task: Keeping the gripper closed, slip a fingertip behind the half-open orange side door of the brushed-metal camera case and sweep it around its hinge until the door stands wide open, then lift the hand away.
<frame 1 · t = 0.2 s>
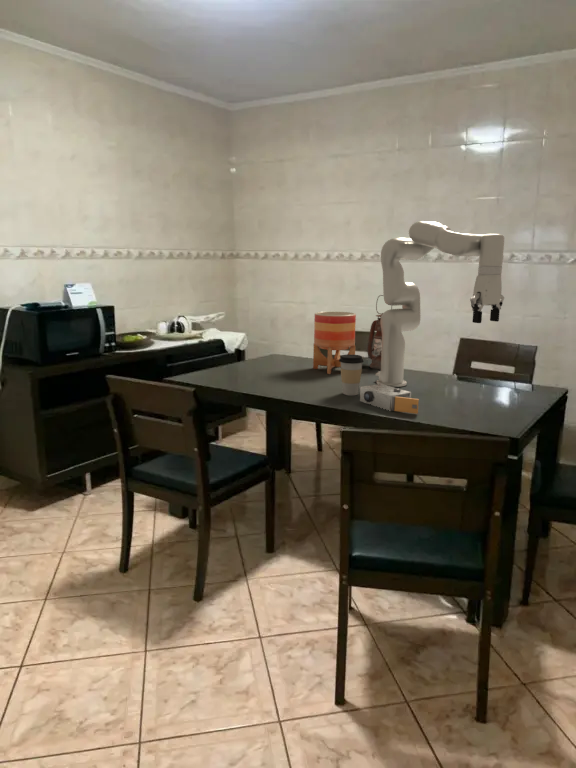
hand: (485, 321, 194), 31 cm above the table, fingers open, 9 cm apart
planter: (333, 370, 267), on the table
coffee cup: (350, 394, 220), on the table
side door: (404, 404, 193), point 3 cm above the table, hinge at 60.0°
camera case: (384, 404, 205), on the table
lantern: (381, 367, 274), on the table
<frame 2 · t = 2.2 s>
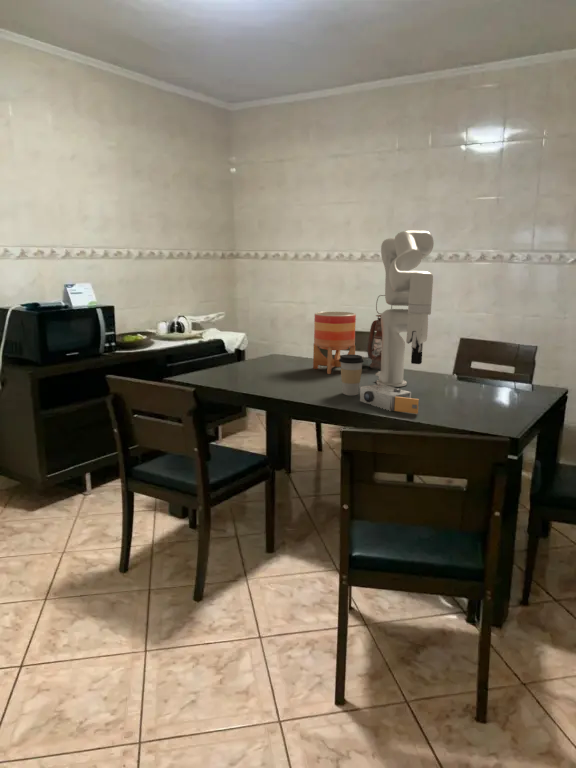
hand: (416, 363, 192), 17 cm above the table, fingers closed
nothing on the table moved.
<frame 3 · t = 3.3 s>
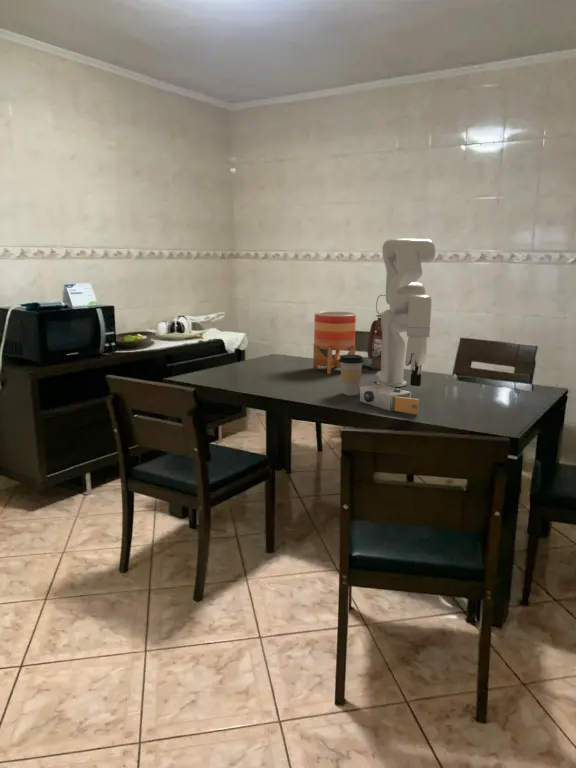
hand: (415, 385, 193), 9 cm above the table, fingers closed
nothing on the table moved.
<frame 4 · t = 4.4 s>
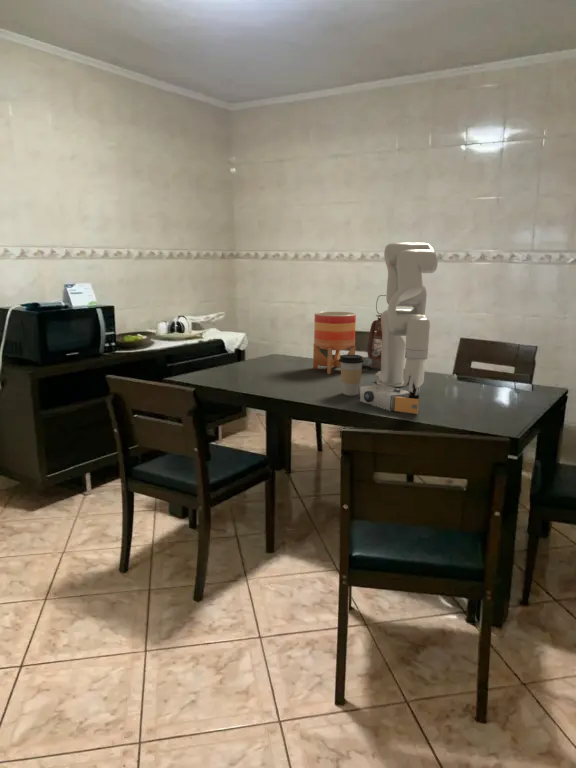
hand: (413, 406, 195), 2 cm above the table, fingers closed
side door: (404, 404, 193), point 3 cm above the table, hinge at 60.5°, touching gripper
everything else where it was.
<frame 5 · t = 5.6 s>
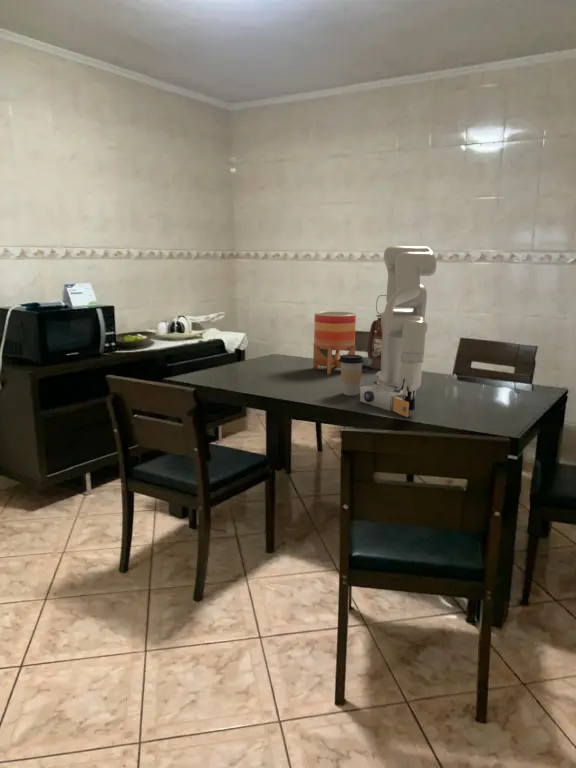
hand: (408, 409, 191), 2 cm above the table, fingers closed
side door: (399, 406, 191), point 3 cm above the table, hinge at 101.1°, touching gripper
everything else where it was.
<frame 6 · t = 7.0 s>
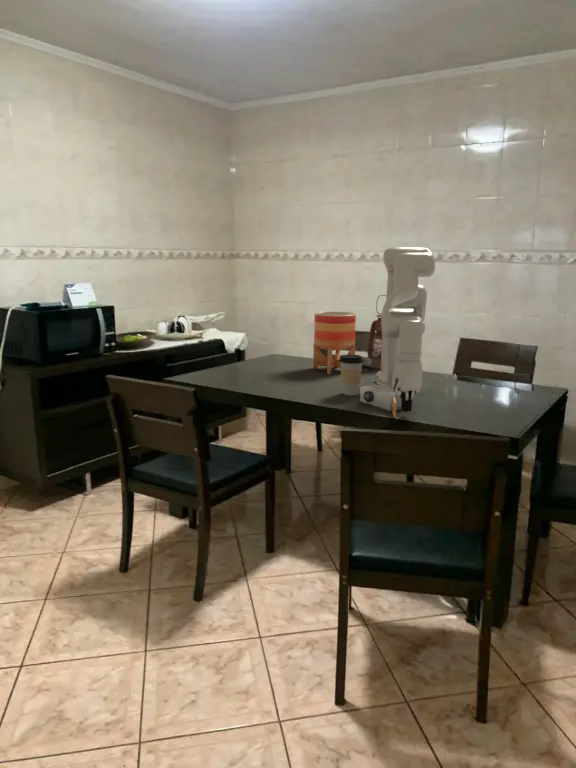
hand: (406, 410, 189), 2 cm above the table, fingers closed
side door: (393, 406, 191), point 3 cm above the table, hinge at 130.6°
everything else where it was.
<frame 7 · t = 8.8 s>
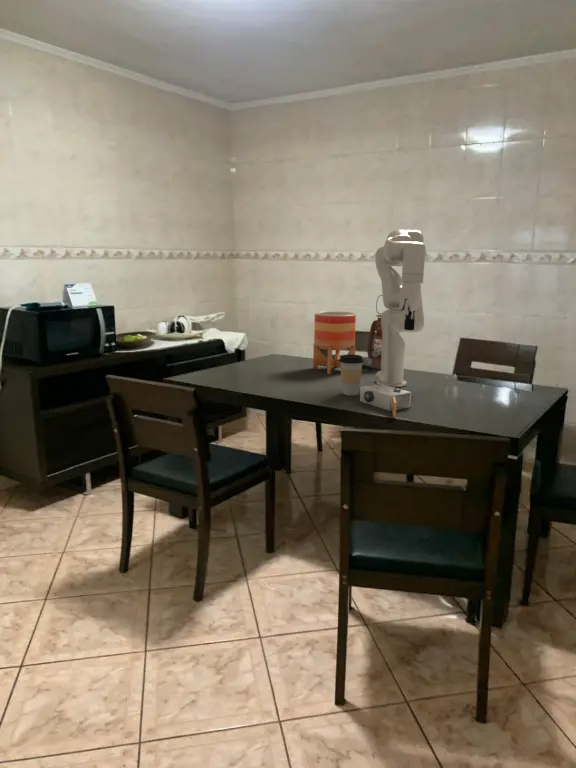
hand: (409, 329, 204), 27 cm above the table, fingers closed
nothing on the table moved.
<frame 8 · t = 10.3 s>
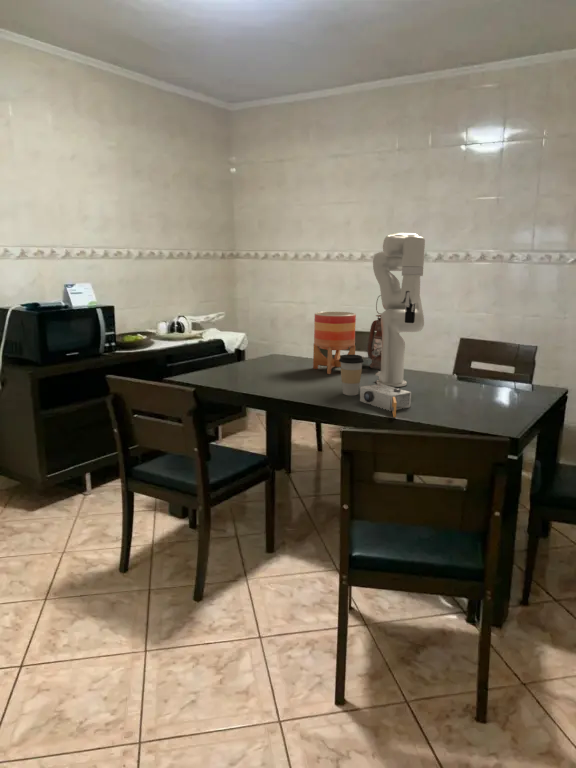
hand: (409, 322, 206), 29 cm above the table, fingers closed
nothing on the table moved.
at the end: side door at +131° (first picture: +60°) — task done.
